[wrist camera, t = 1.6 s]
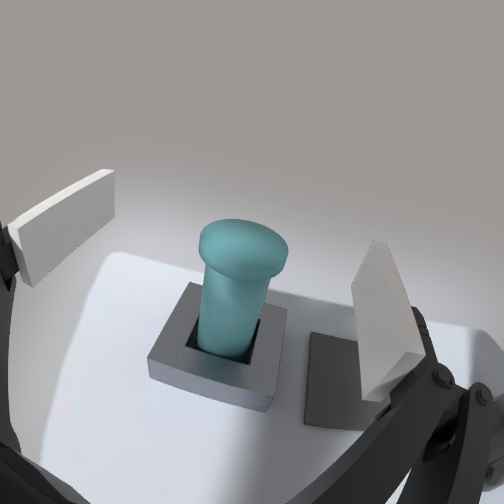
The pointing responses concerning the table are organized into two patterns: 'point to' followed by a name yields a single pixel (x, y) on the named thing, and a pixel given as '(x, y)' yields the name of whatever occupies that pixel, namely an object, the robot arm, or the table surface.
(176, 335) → the housing
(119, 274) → the table surface
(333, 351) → the mat
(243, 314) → the teal capped cylinder
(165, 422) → the table surface
